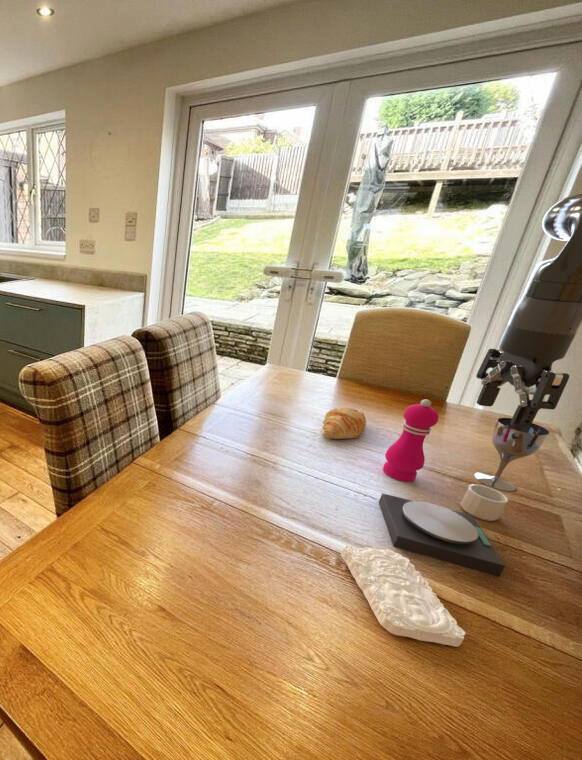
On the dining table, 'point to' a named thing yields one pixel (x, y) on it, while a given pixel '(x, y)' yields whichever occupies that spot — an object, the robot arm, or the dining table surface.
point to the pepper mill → (410, 442)
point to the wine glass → (512, 449)
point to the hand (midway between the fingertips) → (500, 415)
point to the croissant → (343, 423)
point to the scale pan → (440, 522)
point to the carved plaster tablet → (401, 596)
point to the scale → (439, 540)
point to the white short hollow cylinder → (483, 502)
